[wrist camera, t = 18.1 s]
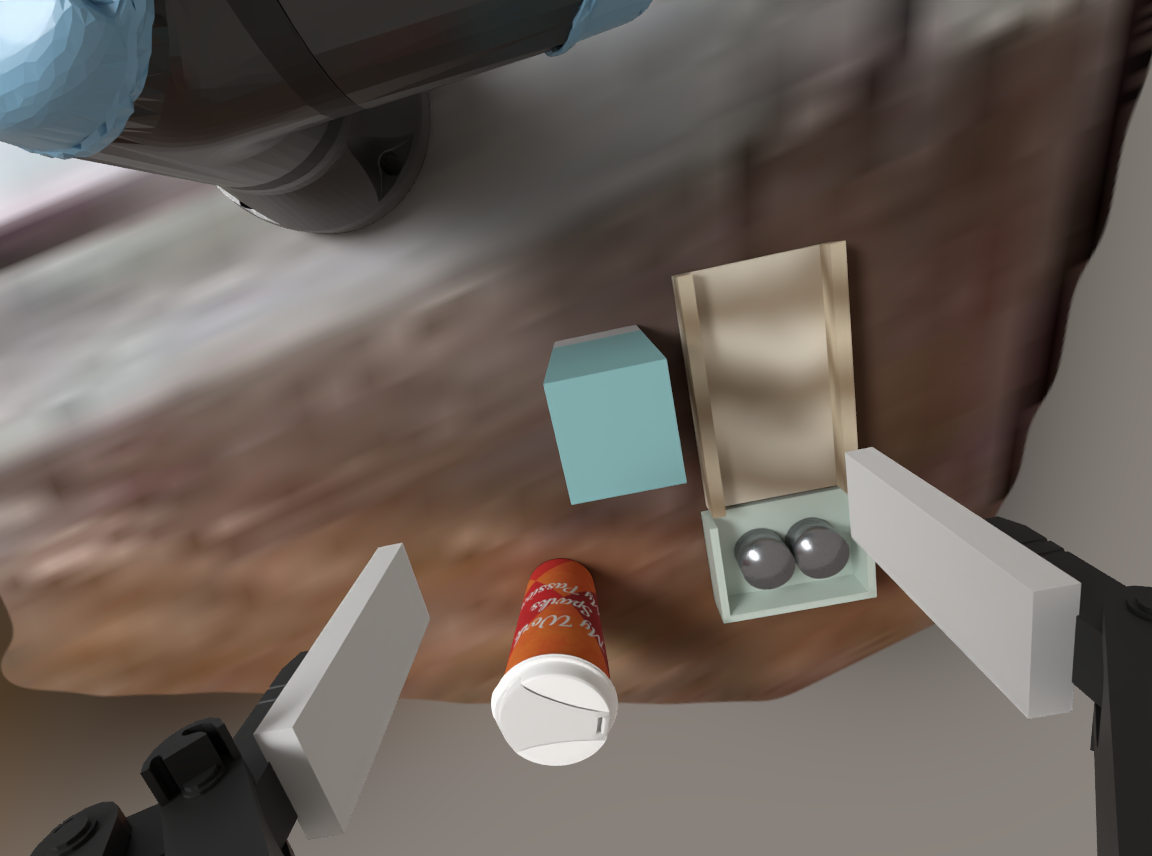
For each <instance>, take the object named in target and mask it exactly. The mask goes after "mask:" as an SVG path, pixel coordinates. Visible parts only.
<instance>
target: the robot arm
mask: <svg viewBox="0 0 1152 856" xmlns="http://www.w3.org/2000/svg"><path fill="white" fill-rule="evenodd" d="M651 2H652V0H0V141H2V142H5V143H8V144H12V145H15V146H18V147H20V148H22V149H24V150H26V151H28V152H31V153H37V154H40V155H43V156H47V157H50V158H54V157H56V158H60V159H64V160H65V159H70V158H77V159H82V160H87V161H92V162H97V163H102V164H108V165H113V166H118V167H123V168H128V169H134V170H139V171H144V172H149V173H154V174H159V175H165V176H170V177H175V178H180V179H185V180H191V181H196V182H201V183H206V184H211V185H215V186H216V187H217V188H218V189H219V190H220V191H221V192H223V193H224V194H225V195H226V196H227V197H228V198H230V199H231V200H232V201H233V202H235V203H236V204H237V205H239V206H240V207H242V208H243V209H245V210H246V211H248V212H249V213H251V214H253V215H255V216H257V217H258V218H261V219H263V220H265V221H267V222H269V223H272V224H275V225H277V226H280V227H284V228H287V229H292V230H296V231H304V232H312V233H325V234H329V233H343V232H348V231H353V230H356V229H359V228H362V227H365V226H367V225H369V224H372V223H374V222H375V221H377V220H379V219H380V218H382V217H383V216H385V215H386V214H388V213H389V212H390V211H391V210H392V209H394V208H395V207H396V206H397V205H398V204H399V203H400V201H401V200H402V199H403V198H404V197H405V195H406V194H407V193H408V191H409V190H410V188H411V187H412V185H413V184H414V182H415V180H416V178H417V176H418V174H419V171H420V169H421V167H422V164H423V161H424V158H425V154H426V150H427V145H428V139H429V130H430V109H429V99H428V93H427V90H430V89H433V88H436V87H439V86H442V85H445V84H448V83H452V82H455V81H458V80H461V79H464V78H467V77H470V76H473V75H476V74H480V73H483V72H486V71H489V70H492V69H495V68H498V67H501V66H504V65H508V64H511V63H514V62H517V61H520V60H523V59H526V58H529V57H532V56H535V55H539V54H542V53H545V54H546V55H547V56H549V57H553V56H558V55H561V54H563V53H565V52H566V51H568V50H569V49H570V48H571V47H572V46H573V45H574V44H575V43H576V42H578V41H581V40H584V39H586V38H589V37H591V36H594V35H597V34H599V33H602V32H605V31H607V30H610V29H612V28H615V27H618V26H620V25H623V24H626V23H628V22H630V21H632V20H634V19H635V18H636V17H638V16H639V15H641V14H642V13H643V12H644V11H645V10H646V9H647V8H648V6H649V5H650V3H651ZM845 461H846V474H847V487H848V500H849V513H850V526H851V537H852V538H853V539H854V540H855V541H856V542H857V543H858V544H859V545H860V546H861V547H862V548H863V549H864V551H865V552H866V553H867V554H868V555H869V556H870V557H871V558H872V559H873V560H874V561H875V562H876V563H877V564H878V565H879V566H880V567H881V568H882V569H883V570H884V571H885V572H886V573H887V574H888V575H889V576H890V577H891V578H892V579H893V580H894V581H895V582H896V583H897V584H898V585H899V586H900V587H901V589H902V590H903V591H904V592H905V593H906V594H907V595H908V596H909V597H910V598H911V599H912V600H913V601H914V602H915V603H916V604H917V605H918V606H919V607H920V608H921V609H922V610H923V611H924V612H925V613H926V614H927V615H928V616H929V617H930V618H931V619H932V620H933V621H934V622H935V623H936V624H937V626H939V628H940V629H942V631H944V633H945V634H946V635H947V636H948V637H949V638H950V639H951V640H952V641H953V642H954V643H955V644H956V645H957V646H958V647H959V648H960V649H961V650H962V651H963V652H964V653H965V654H966V655H967V656H968V657H969V658H970V659H971V660H972V661H973V662H974V663H975V664H976V666H977V667H978V668H979V669H980V670H981V671H982V672H983V673H984V674H985V675H986V676H987V677H988V678H989V679H990V680H991V681H992V682H993V683H994V684H995V685H996V686H997V687H998V688H999V689H1000V690H1001V691H1002V692H1003V693H1004V694H1005V695H1006V696H1007V697H1008V698H1009V700H1011V702H1012V703H1013V704H1014V705H1015V706H1016V707H1017V708H1018V709H1019V710H1020V711H1021V712H1022V713H1023V714H1024V715H1025V716H1026V717H1027V718H1028V719H1030V718H1036V717H1043V716H1049V715H1055V714H1060V713H1067V712H1072V705H1073V692H1074V685H1075V686H1077V687H1078V688H1079V689H1080V690H1081V691H1083V692H1084V693H1085V694H1086V695H1087V696H1088V697H1089V698H1091V699H1092V700H1093V701H1094V714H1093V725H1092V736H1091V749H1090V750H1092V751H1094V757H1095V791H1096V819H1097V820H1096V821H1097V853H1098V856H1152V587H1144V586H1127V587H1126V586H1125V585H1123V584H1121V583H1120V582H1118V581H1116V580H1115V579H1113V578H1111V577H1110V576H1108V575H1106V574H1105V573H1103V572H1101V571H1100V570H1098V569H1096V568H1095V567H1093V566H1092V565H1090V564H1088V563H1086V562H1085V561H1083V560H1082V559H1080V558H1078V557H1077V556H1075V555H1073V554H1072V553H1070V552H1065V551H1064V549H1063V548H1062V547H1060V546H1058V545H1057V544H1055V543H1054V542H1052V541H1047V539H1046V538H1045V537H1044V536H1042V535H1040V534H1039V533H1037V532H1035V531H1034V530H1032V529H1030V528H1029V527H1027V526H1025V525H1022V524H1019V523H1016V522H1013V521H1010V520H1007V519H1004V518H1001V517H993V518H988V519H982V518H981V517H979V516H978V515H976V514H974V513H973V512H971V511H970V510H968V509H967V508H965V507H964V506H962V505H961V504H959V503H958V502H956V501H954V500H953V499H951V498H950V497H948V496H947V495H945V494H944V493H942V492H941V491H939V490H938V489H936V488H935V487H933V486H931V485H930V484H928V483H927V482H925V481H924V480H922V479H921V478H919V477H918V476H916V475H915V474H913V473H912V472H910V471H908V470H907V469H905V468H904V467H902V466H901V465H899V464H898V463H896V462H895V461H893V460H892V459H890V458H888V457H887V456H885V455H884V454H882V453H881V452H879V451H878V450H876V449H875V448H873V447H869V448H864V449H859V450H854V451H849V452H845ZM429 620H430V616H429V614H428V611H427V608H426V606H425V603H424V600H423V597H422V595H421V592H420V589H419V586H418V584H417V581H416V578H415V575H414V573H413V570H412V567H411V564H410V562H409V559H408V556H407V553H406V551H405V548H404V545H403V543H399V544H394V545H389V546H384V547H379V548H378V549H377V550H376V552H375V553H374V555H373V556H372V558H371V559H370V561H369V562H368V564H367V565H366V567H365V568H364V570H363V571H362V573H361V574H360V576H359V577H358V579H357V580H356V582H355V583H354V585H353V586H352V588H351V589H350V591H349V592H348V594H347V595H346V597H345V598H344V600H343V601H342V603H341V604H340V605H339V607H338V608H337V610H336V611H335V613H334V614H333V616H332V617H331V619H330V620H329V622H328V623H327V625H326V626H325V628H324V629H323V631H322V632H321V634H320V635H319V637H318V638H317V640H316V641H315V643H314V644H313V646H312V647H311V649H310V650H309V651H305V652H300V653H299V654H298V655H297V656H296V657H295V658H294V659H293V660H292V661H290V662H289V663H288V664H287V665H286V666H285V667H284V668H283V669H282V670H281V671H280V673H279V674H278V676H277V677H276V678H275V680H274V681H273V683H272V684H271V685H270V690H267V691H266V692H265V694H264V695H263V697H262V698H261V700H260V704H259V705H256V707H255V708H254V710H253V711H252V712H251V714H250V715H249V717H248V718H247V719H246V721H245V722H244V724H243V725H242V726H241V728H240V729H239V731H238V732H237V734H236V735H235V736H234V738H233V739H232V737H231V735H230V733H229V731H228V730H227V728H226V726H225V724H224V723H223V722H222V720H221V719H220V718H206V719H203V720H199V721H196V722H194V723H192V724H190V725H187V726H185V727H183V728H181V729H180V730H178V731H177V732H175V733H174V734H172V735H171V736H170V737H168V738H167V739H165V740H164V741H163V742H162V743H161V744H160V745H159V746H158V747H157V748H156V749H154V750H153V752H152V753H151V754H150V756H149V757H148V758H147V760H146V761H145V762H144V764H143V767H142V770H141V773H140V774H141V775H142V777H143V779H144V780H145V782H146V783H147V785H148V787H149V788H150V789H151V791H152V793H153V794H154V796H155V798H156V799H157V801H158V804H156V805H154V806H152V807H149V808H147V809H145V810H142V811H140V812H138V813H136V814H133V815H131V816H128V817H125V816H124V814H123V812H122V811H121V809H120V808H119V806H118V805H116V804H115V803H114V802H101V803H98V804H95V805H93V806H90V807H88V808H85V809H84V810H82V811H80V812H78V813H77V814H75V815H72V816H71V817H69V818H68V819H66V820H65V821H63V823H62V824H59V825H58V826H57V827H56V828H55V829H53V830H52V831H51V833H50V834H49V835H48V836H47V837H46V838H45V839H44V840H43V841H42V842H41V843H40V844H39V845H38V846H37V847H36V848H35V849H34V851H33V852H32V854H31V855H30V856H295V855H294V852H293V850H292V848H291V846H290V844H289V843H288V840H287V838H288V836H289V834H290V832H291V830H292V828H293V826H294V824H295V822H296V820H298V822H299V824H300V825H301V827H302V829H303V831H304V833H305V835H306V837H307V839H308V840H310V839H316V838H322V837H328V836H334V835H339V834H345V831H346V829H347V826H348V824H349V821H350V818H351V816H352V814H353V811H354V809H355V806H356V804H357V801H358V799H359V796H360V793H361V791H362V789H363V786H364V784H365V781H366V778H367V776H368V774H369V771H370V769H371V766H372V763H373V761H374V759H375V756H376V753H377V751H378V748H379V746H380V743H381V741H382V738H383V736H384V733H385V731H386V728H387V726H388V723H389V720H390V718H391V716H392V713H393V711H394V708H395V706H396V703H397V701H398V698H399V696H400V693H401V691H402V688H403V686H404V683H405V681H406V678H407V676H408V673H409V671H410V668H411V666H412V663H413V661H414V658H415V656H416V653H417V651H418V648H419V645H420V643H421V640H422V638H423V635H424V633H425V630H426V628H427V625H428V623H429Z"/></svg>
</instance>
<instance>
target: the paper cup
mask: <svg viewBox="0 0 1152 856" xmlns="http://www.w3.org/2000/svg"><path fill="white" fill-rule="evenodd" d="M491 706H492V707H491V708H492V713H493V717H494V718H495V720H496V722H497V724H498V726H499V728H500V730H501V732H502V734H503V736H504V738H505V740H506V741H507V742H508V744H509V745H510V746H511V747H512V749H513V750H514V751H515V752H516V753H517V754H518V755H520V756H522V757H523V758H525V759H527V760H530V761H532V762H535V763H539V764H543V765H552V766H560V765H568V764H573V763H576V762H579V761H582V760H584V759H586V758H588V757H590V756H591V755H592V754H594V753H595V752H596V751H597V750H598V749H600V747H601V746H602V745H603V744H604V742H605V741H606V739H607V734H608V732H609V730H610V729H611V727H612V726H613V724H614V721H615V719H616V716H617V712H618V699H617V694H616V691H615V688H614V686H613V684H612V682H611V680H610V674H609V667H608V660H607V655H606V649H605V644H604V638H603V633H602V626H601V620H600V614H599V607H598V601H597V596H596V590H595V585H594V581H593V579H592V576H591V574H590V573H589V571H588V570H587V569H586V568H585V567H584V566H583V565H581V564H580V563H578V562H576V561H574V560H570V559H564V558H558V559H552V560H549V561H546V562H544V563H542V564H541V565H540V566H538V567H537V568H536V569H535V571H534V572H533V573H532V575H531V577H530V580H529V583H528V586H527V589H526V593H525V597H524V600H523V604H522V608H521V612H520V616H519V620H518V624H517V627H516V631H515V635H514V639H513V643H512V647H511V651H510V655H509V659H508V663H507V667H506V671H505V675H504V676H503V677H502V679H501V680H500V682H499V684H498V685H497V687H496V688H495V690H494V691H493V693H492V699H491Z"/></svg>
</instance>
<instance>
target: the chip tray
mask: <svg viewBox="0 0 1152 856" xmlns="http://www.w3.org/2000/svg"><path fill="white" fill-rule="evenodd" d="M725 509H726V516H725V517H720V518H715V519H713V517H712V515H711V513H710V511H709V510H707V511H702V512H701V516H702V523H703V529H704V535H705V542H706V548H707V555H708V561H709V567H710V574H711V580H712V587H713V593H714V599H715V603H716V605H717V608H718V610H719V613H720V615H721V618H722V620H723V623H724V624H725V623H731V622H736V621H742V620H748V619H753V618H759V617H765V616H771V615H776V614H782V613H788V612H794V611H799V610H805V609H811V608H817V607H822V606H828V605H834V604H840V603H845V602H851V601H857V600H863V599H868V598H874V597H877V588H876V569H875V561H874V560H873V559H872V558H871V557H870V556H869V555H868V554H867V553H866V552H865V551H864V549H863V548H862V547H861V546H860V545H859V544H858V543H857V542H856V541H855V540H854V539H853V538H852V537H851V526H850V513H849V500H848V494H847V493H845V492H844V491H843V490H842V489H841V488H840V487H838V486H835V487H830V488H824V489H819V490H814V491H808V492H803V493H798V494H792V495H787V496H782V497H776V498H771V499H766V500H761V501H755V502H750V503H745V504H739V505H734V506H729V507H725ZM810 517H816V518H821V519H823V520H825V521H827V522H828V523H829V524H830V525H831V526H832V527H833V528H834V529H835V530H836V531H837V532H838V533H839V534H840V535H841V536H842V537H843V538H844V540H845V541H846V542H847V544H848V546H849V550H850V555H849V559H848V562H847V564H846V565H845V567H844V568H843V569H842V570H841V571H840V572H839V573H837V574H836V575H834V576H831V577H829V578H824V579H815V578H811V577H808V576H807V575H805V574H804V573H803V572H801V570H800V569H799V568H798V566H797V565H796V563H795V571H794V573H793V575H792V577H791V578H790V579H789V581H788V582H786V583H785V584H784V585H782V586H780V587H778V588H775V589H770V590H762V589H758V588H755V587H753V586H751V585H750V584H749V583H748V582H747V581H746V580H745V578H744V576H743V574H742V572H741V569H740V567H739V565H738V563H737V561H736V559H735V555H734V548H735V545H736V542H737V541H738V539H739V538H740V537H741V536H742V535H743V534H745V533H746V532H748V531H750V530H753V529H757V528H766V529H770V530H773V531H774V532H776V533H777V534H779V536H780V537H781V538H782V540H783V541H784V543H785V537H786V534H787V532H788V530H789V529H790V527H791V526H792V525H794V524H795V523H796V522H798V521H800V520H802V519H805V518H810Z"/></svg>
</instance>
